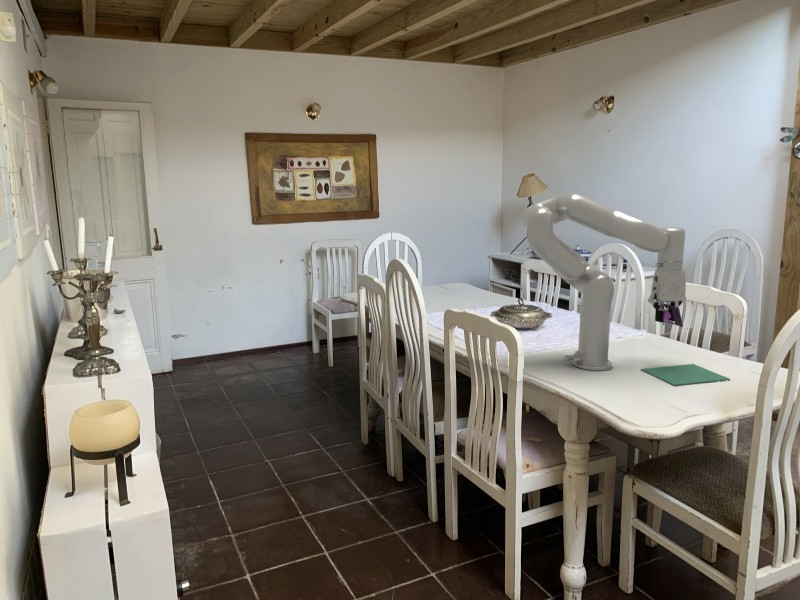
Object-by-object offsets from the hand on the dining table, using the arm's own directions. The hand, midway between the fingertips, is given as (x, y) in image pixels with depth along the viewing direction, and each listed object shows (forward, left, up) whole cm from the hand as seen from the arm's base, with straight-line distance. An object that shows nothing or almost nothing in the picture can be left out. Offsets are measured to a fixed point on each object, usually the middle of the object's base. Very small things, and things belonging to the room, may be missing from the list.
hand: (665, 320), depth 197 cm
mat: (0, -11, -15) cm, 19 cm away
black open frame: (0, -1, -1) cm, 2 cm away
